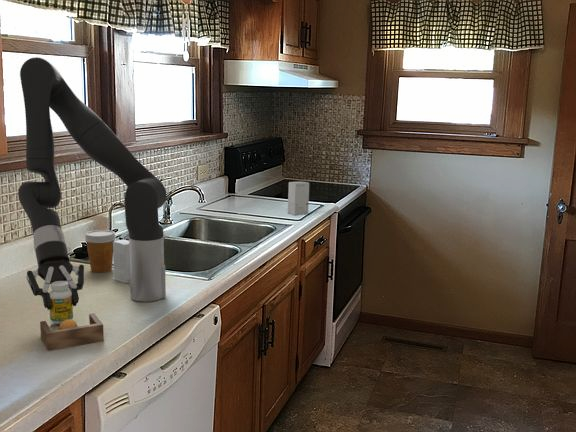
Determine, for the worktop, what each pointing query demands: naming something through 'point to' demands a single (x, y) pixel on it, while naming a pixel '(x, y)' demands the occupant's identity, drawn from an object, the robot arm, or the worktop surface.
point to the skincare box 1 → (121, 261)
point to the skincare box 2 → (298, 198)
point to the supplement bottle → (60, 302)
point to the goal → (72, 334)
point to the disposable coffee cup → (100, 249)
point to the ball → (68, 324)
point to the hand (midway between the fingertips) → (62, 306)
